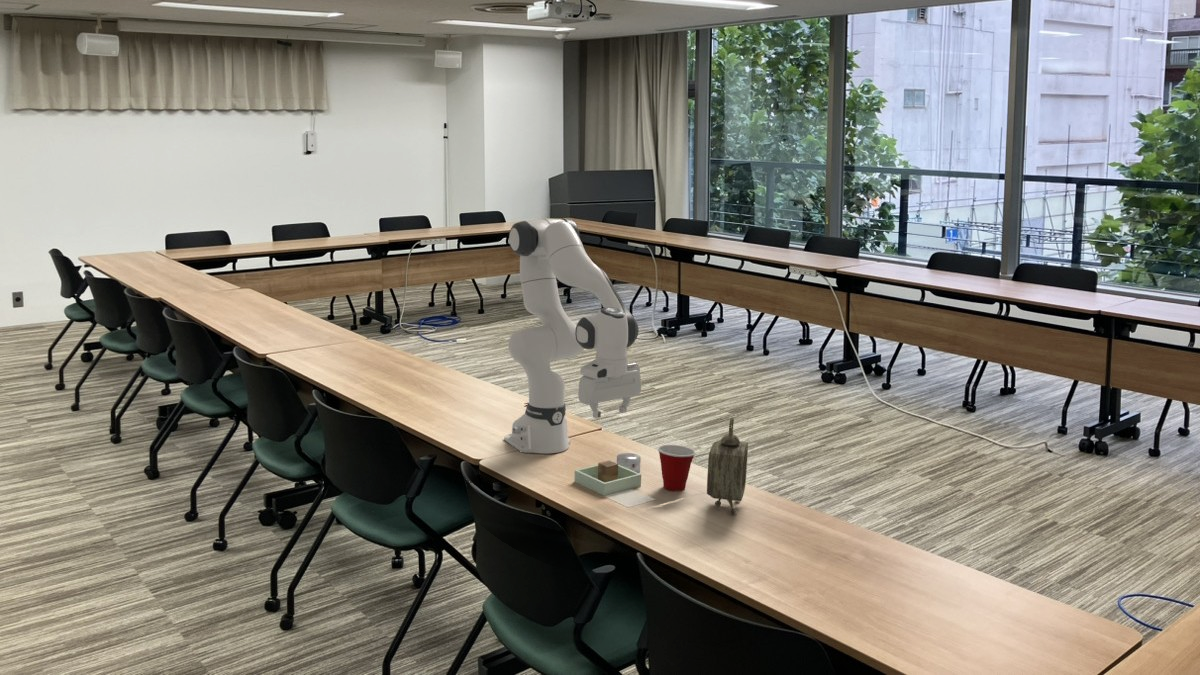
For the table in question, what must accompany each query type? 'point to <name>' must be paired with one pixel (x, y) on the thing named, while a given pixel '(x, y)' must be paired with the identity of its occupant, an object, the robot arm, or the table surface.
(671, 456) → the plastic cup
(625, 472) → the crate
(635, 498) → the coaster
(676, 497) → the table surface
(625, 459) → the metal tin
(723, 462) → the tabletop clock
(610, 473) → the walnut block
